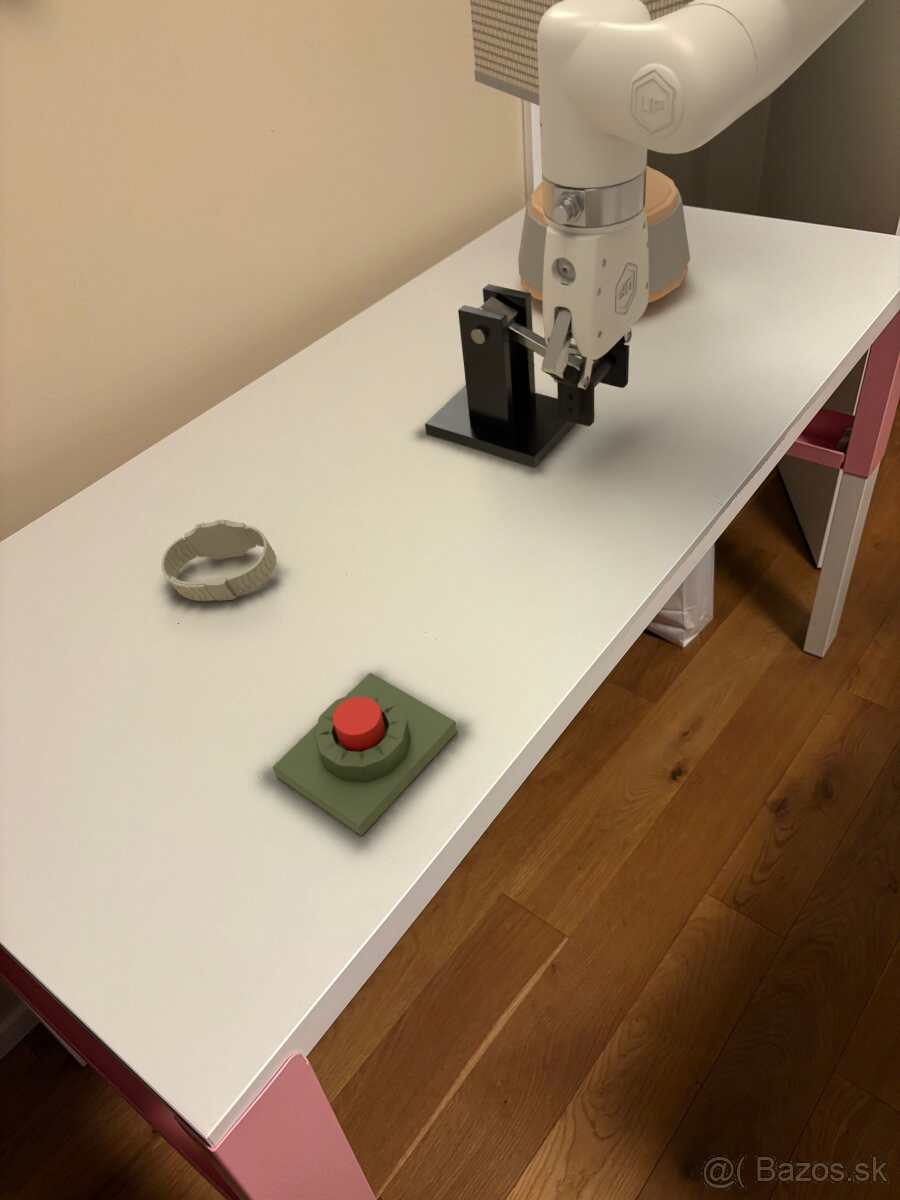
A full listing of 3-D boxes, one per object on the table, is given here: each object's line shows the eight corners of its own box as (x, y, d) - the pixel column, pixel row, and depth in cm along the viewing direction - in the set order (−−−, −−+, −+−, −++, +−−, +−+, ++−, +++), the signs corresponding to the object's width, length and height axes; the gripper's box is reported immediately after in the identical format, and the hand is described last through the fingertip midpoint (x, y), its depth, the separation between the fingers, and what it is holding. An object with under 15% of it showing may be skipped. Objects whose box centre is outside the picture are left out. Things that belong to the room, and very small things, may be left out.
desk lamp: (479, 280, 112) (447, -101, 86) (606, 228, 118) (612, -142, 92) (596, 353, 98) (599, -74, 72) (733, 290, 104) (782, -124, 78)
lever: (611, 374, 83) (619, 353, 81) (581, 407, 80) (589, 386, 78) (496, 309, 86) (501, 287, 84) (463, 338, 83) (468, 316, 81)
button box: (372, 682, 70) (366, 655, 68) (457, 731, 66) (453, 705, 64) (275, 776, 65) (265, 751, 63) (361, 836, 61) (353, 811, 59)
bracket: (581, 415, 91) (581, 290, 81) (534, 467, 86) (528, 341, 77) (476, 386, 96) (464, 266, 87) (426, 434, 91) (408, 312, 82)
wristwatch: (282, 548, 81) (268, 503, 78) (276, 600, 77) (261, 555, 73) (177, 560, 82) (159, 515, 78) (165, 612, 77) (145, 568, 74)
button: (359, 704, 65) (355, 688, 64) (394, 726, 63) (390, 709, 62) (327, 736, 63) (322, 720, 62) (362, 758, 62) (358, 742, 60)
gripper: (584, 252, 64) (585, 468, 76) (689, 156, 73) (675, 362, 86) (489, 234, 67) (505, 444, 80) (601, 145, 76) (600, 345, 89)
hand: (593, 400), depth 83 cm, fingers closed on lever, 5 cm apart
